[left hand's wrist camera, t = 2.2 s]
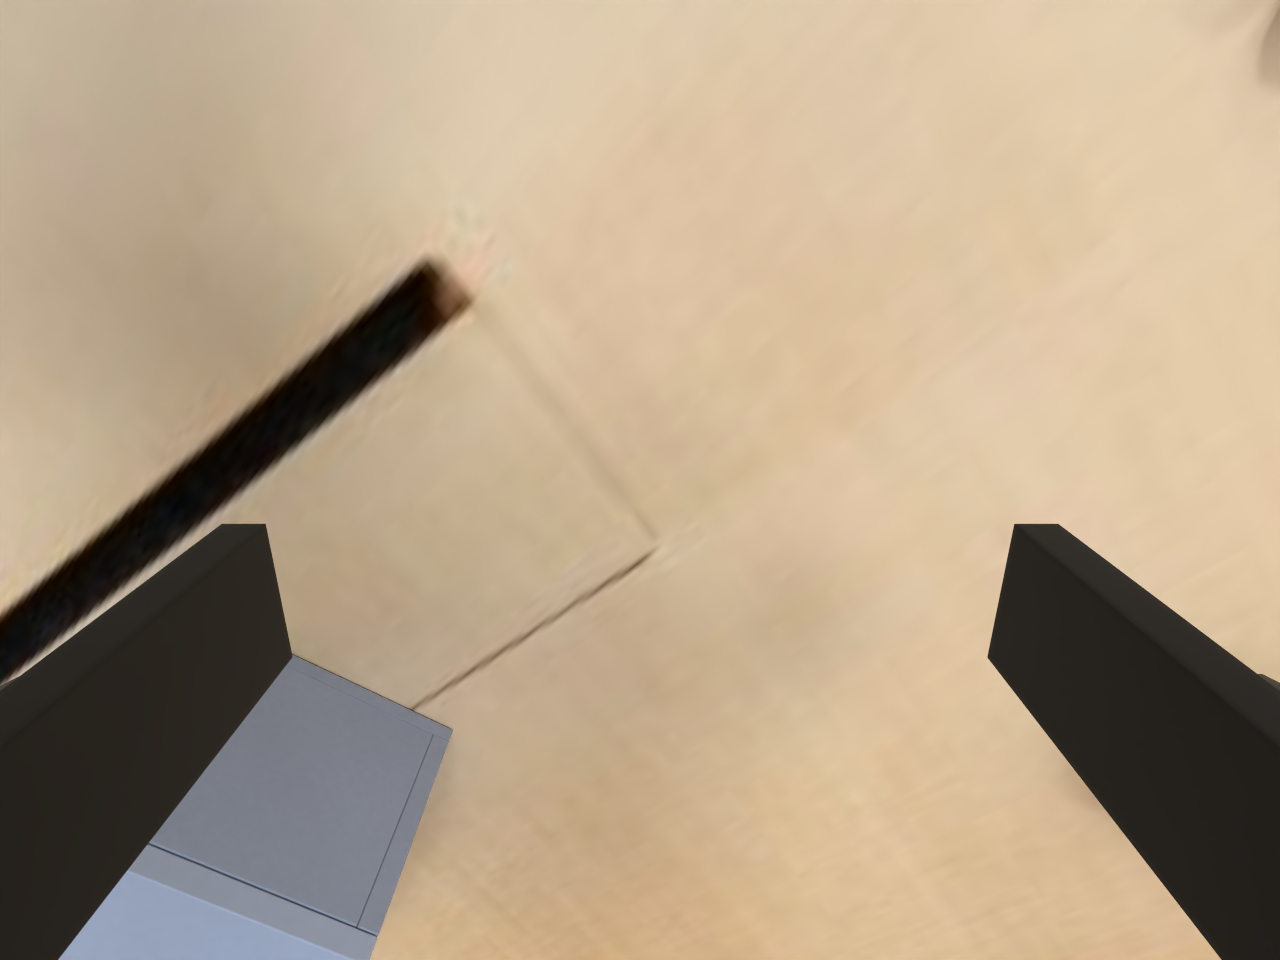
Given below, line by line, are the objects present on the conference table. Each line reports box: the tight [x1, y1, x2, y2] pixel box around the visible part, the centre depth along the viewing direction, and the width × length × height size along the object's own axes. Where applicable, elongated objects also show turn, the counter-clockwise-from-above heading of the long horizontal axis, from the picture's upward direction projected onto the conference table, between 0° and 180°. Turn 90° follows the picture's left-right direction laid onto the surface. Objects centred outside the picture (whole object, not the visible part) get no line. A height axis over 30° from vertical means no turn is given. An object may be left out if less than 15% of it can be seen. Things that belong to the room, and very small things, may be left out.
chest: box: [148, 654, 452, 937], centre depth 33 cm, size 15×10×11 cm, turn 149°
